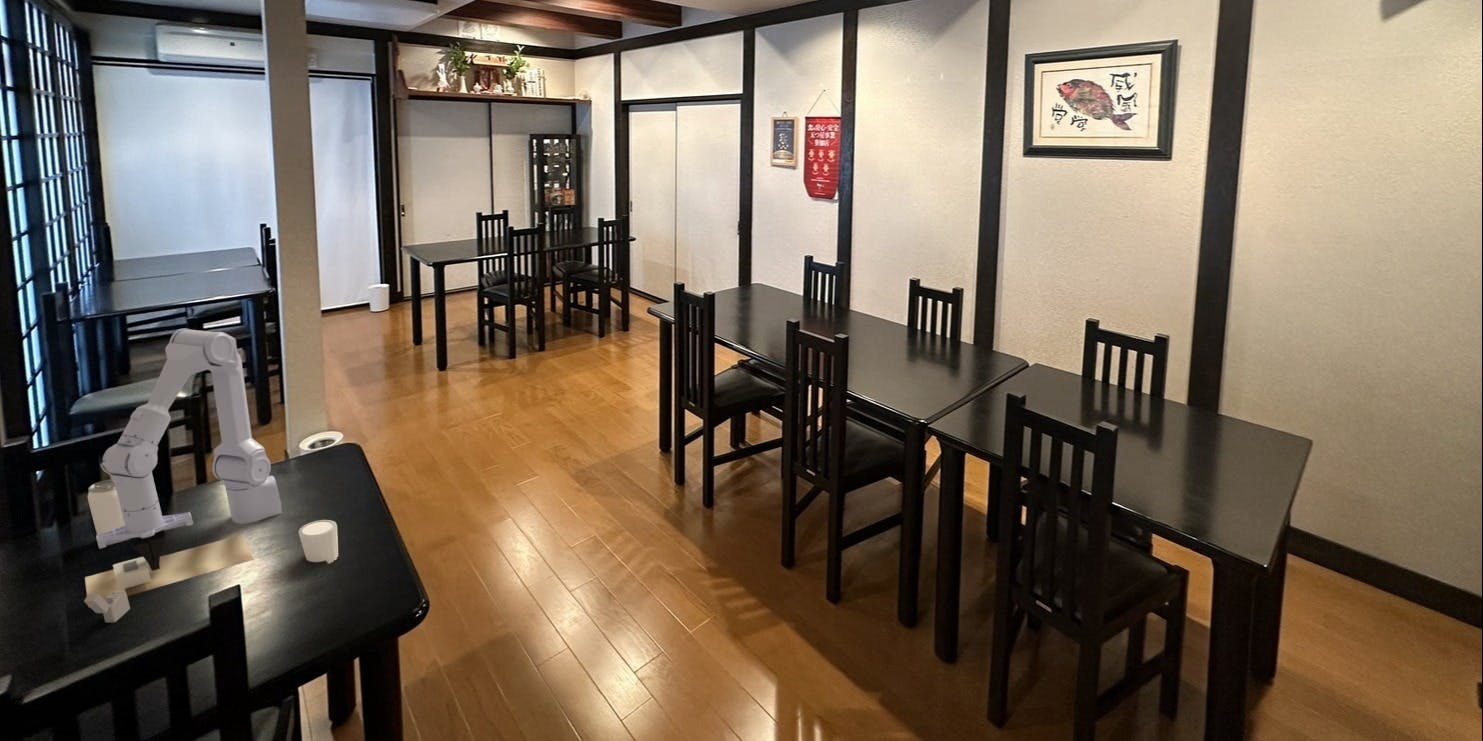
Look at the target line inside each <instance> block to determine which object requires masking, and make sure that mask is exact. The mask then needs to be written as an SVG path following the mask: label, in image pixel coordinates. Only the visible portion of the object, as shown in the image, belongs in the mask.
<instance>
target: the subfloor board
mask: <svg viewBox="0 0 1483 741" xmlns="http://www.w3.org/2000/svg"><path fill="white" fill-rule="evenodd" d="M253 560H255V558H254V556H253V554H252V552H251V550H250V548H249V546H248V543H247V541H246V540H245V538H244V535H243V534H239V535H235V536H231V537H228V538H223V539H221V540H218V541H213V542H209V543H206V544H203V545H198V546H195V547H191V548H187V549H184V550H180V551H177V552H173V553H169V554H165V555H162V556H160V562H159V566H160V569H158V570H154V571H151V568H150V566H149V564H148V563H147V566H148V570H149V574H150V578H151V581H150V582H147V583H143V584H140V585H136V586H133V587H129V588H126V589H122V590H119V591H118V587H117V583H116V579H115V574H114V569H110V570H106V571H103V572H99V573H96V574H93V575H89V576H85V577H84V581H85V582H84V583H85V590H86V596H87V595H88V594H99V595H100V596H101V597H102V598H103V599H104V600H105V601H107V600H106V597H107V596H108V595H109V594H111V593H112V592H116V591H118V592H126V594H127V597H131V596H133V595H134V596H135V595H136V594H140V593H143V592H146V591H151V590H153V589H157V588H161V587H164V586H167V585H172V584H175V583H178V582H181V581H182V582H183V581H185V580H188V579H191V578H192V579H193V578H195V577H199V576H201V575H206V574H208V573H212V572H215V571H218V570H223V569H227V568H229V567H233V566H236V565H240V564H243V563H247V562H250V561H253ZM87 608H90V607H89V606H88V605H87Z"/></svg>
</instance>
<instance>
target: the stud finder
mask: <svg viewBox="0 0 1483 741" xmlns="http://www.w3.org/2000/svg"><path fill="white" fill-rule="evenodd" d="M112 567H113V570H114V574H115V579H116V583H117V587H118V591H119V590H122V589H126V588H129V587H133V586H136V585H140V584H143V583H147V582H150V581H151V578H150V574H149V570H148V566H147V561H146V560H145V559H144V557H143V556H139V557H137V558H133V559H129V560H125V561H122V562H118V563H115V564H112Z"/></svg>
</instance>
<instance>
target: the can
mask: <svg viewBox="0 0 1483 741" xmlns="http://www.w3.org/2000/svg"><path fill="white" fill-rule="evenodd" d="M87 489H88V490H87V491H88V493H87V500H88V504H89V508H90V512H91V513H90V514H91V517H92V520H93V524H94V528H95V531H96V535H99V534H103V533H106V532H109V531H112V530H114V529H117V528H120V527H122V526H125V523H124V519H123V515H122V511H121V507H120V503H119V499H118V495H117V491H116V488H115V484H114V482H113V481H112V480H111V479H107V480H102V481H98V482H95V483H93V484H92V485H90V486H89V487H88V488H87Z"/></svg>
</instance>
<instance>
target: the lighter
mask: <svg viewBox="0 0 1483 741" xmlns="http://www.w3.org/2000/svg"><path fill="white" fill-rule="evenodd" d="M106 600H107V601H105V600H104V599H103V598H102V597H101V596H100V595H99V594H88V595H87V594H86V597H85V598H84V600H83V602H84V603H85V604H86V605H87V607H88V606H89V608H90V609H91V610H93V612H95V614H103V618H104V622H105V623H116V622H117V621H119V619H121V618H122V617H123V616H124V615H125V614H126V613H127V612H128V611H130V609H131V606H130V602H129V598H128V596H127V594H126V592H118V591H116V592H112V593H111V594H109V595H108V596H107V597H106Z"/></svg>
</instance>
